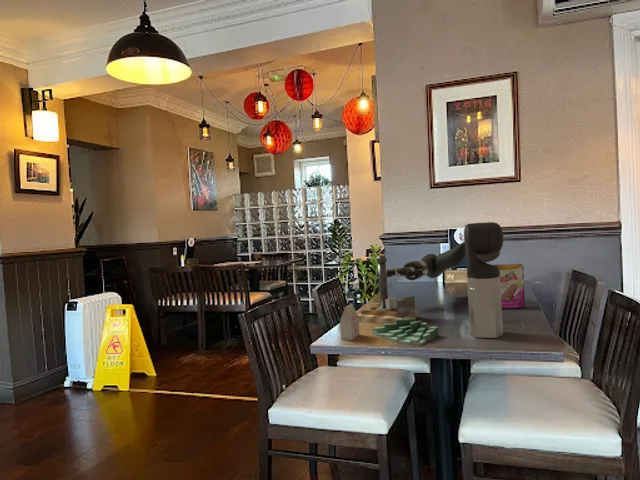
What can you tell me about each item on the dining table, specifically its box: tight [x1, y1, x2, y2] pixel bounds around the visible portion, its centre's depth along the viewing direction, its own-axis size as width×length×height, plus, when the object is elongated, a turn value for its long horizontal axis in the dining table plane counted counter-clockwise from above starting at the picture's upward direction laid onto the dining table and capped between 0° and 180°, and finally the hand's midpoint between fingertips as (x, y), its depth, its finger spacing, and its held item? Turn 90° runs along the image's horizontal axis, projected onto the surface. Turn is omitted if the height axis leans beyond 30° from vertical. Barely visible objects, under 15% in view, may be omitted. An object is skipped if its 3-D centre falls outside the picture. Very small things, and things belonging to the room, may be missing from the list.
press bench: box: [357, 295, 419, 325], centre depth 170 cm, size 18×14×8 cm
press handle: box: [376, 254, 397, 312], centre depth 170 cm, size 6×5×21 cm
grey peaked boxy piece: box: [339, 303, 360, 341], centre depth 147 cm, size 4×7×10 cm, turn 157°
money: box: [371, 318, 439, 346], centre depth 144 cm, size 20×16×5 cm
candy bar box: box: [494, 263, 526, 310], centre depth 176 cm, size 11×5×16 cm, turn 84°
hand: (397, 274), depth 178 cm, fingers open, 8 cm apart
